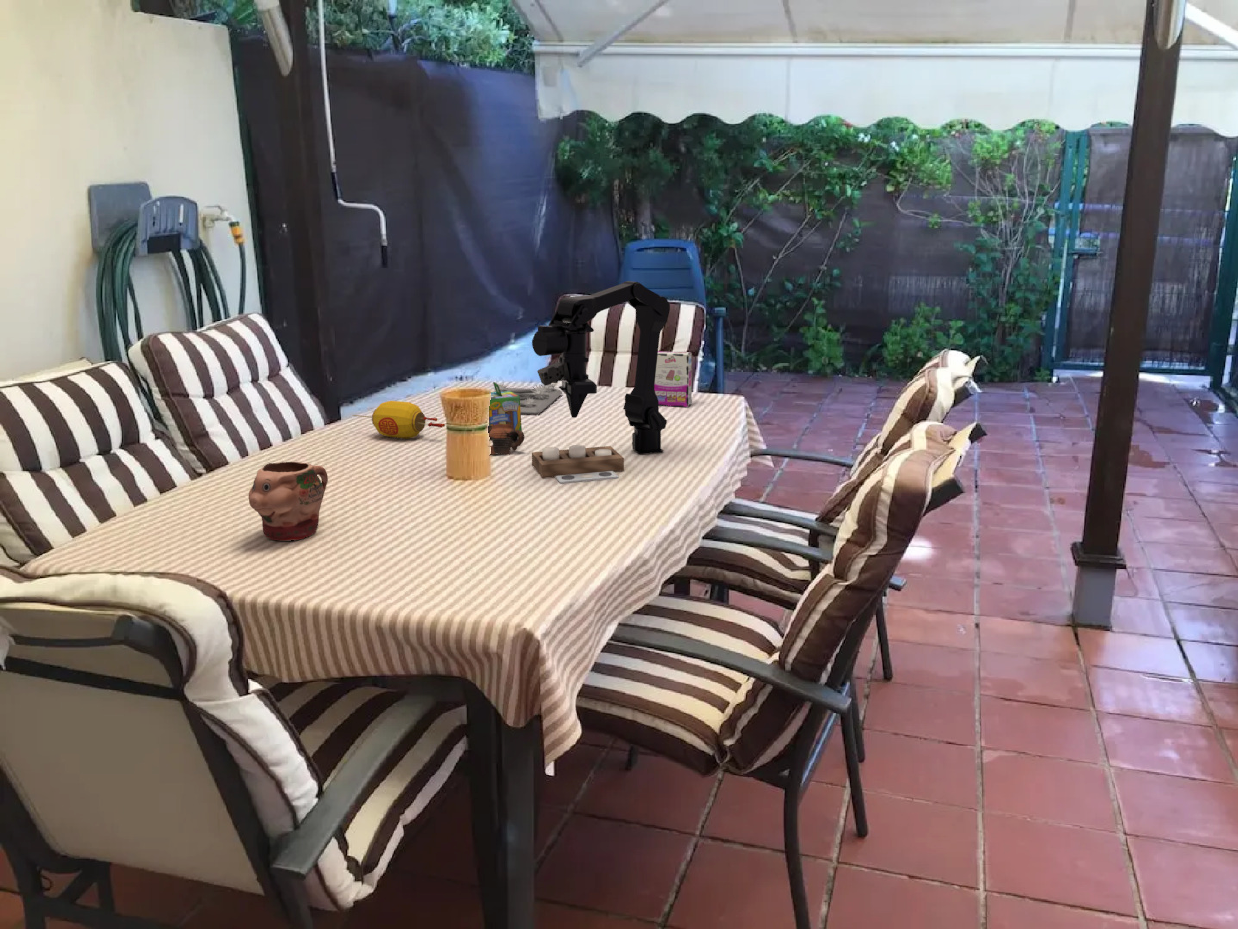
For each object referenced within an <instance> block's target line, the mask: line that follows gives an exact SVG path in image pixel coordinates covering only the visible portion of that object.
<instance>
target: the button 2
mask: <svg viewBox="0 0 1238 929" xmlns="http://www.w3.org/2000/svg"><path fill="white" fill-rule="evenodd" d="M607 455H611V450H608V449H599V450H596V451H595V456H607Z"/></svg>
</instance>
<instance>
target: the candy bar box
mask: <svg viewBox="0 0 1238 929" xmlns="http://www.w3.org/2000/svg"><path fill="white" fill-rule="evenodd" d="M692 357H693V356H692V351H691V352H690V351H689V352H686V351H685V352H684V351H661V350H658V356H657V365H656V375H655V384H654V391H655V393H656V396H657V398H658V401H659V407H673V408H675V407H676V408H688V407H690V406H691V405H692V402H693V401H692V398H693V397H692V392H693V391H692V388H693V387H692V386H693V385H692V382H693V381H692V375H693V374H692V370H693V368H692V364H693V363H692Z"/></svg>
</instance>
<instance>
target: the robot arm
mask: <svg viewBox="0 0 1238 929" xmlns="http://www.w3.org/2000/svg"><path fill="white" fill-rule="evenodd" d="M626 302H627V303H628V305H630V306H631V307H632V308H633V309H634V310H635V319H636V320H635V321H636V323H637V325H638V328H639V340H638V341H639V342H638V350H637V358H636V369H635V370H636V371H635V379H634V387H633V388H632V390H631V391H630V393H625V395H624V404H623V405H624V406H623V408H622V409H623V410H624V416H625V417H626V418H627V420H628V423H629V426H630V427H633V432H632V433H631V434H632V435H631V442H632V443H631V444H632V450H633V451H634V452H636V453H637V454H638V455H645V454H647V455H648V454H658V453H659V454H660V453H664V450H663V449H662V431H663V430H665V429H666V426H667V424H668V423H667V422H668V420H667V419H666V418H665V417H664V416H663V415H662V414H661V412H660V411H659V410H660V409H659V407H660V406H659V401H658V398H657V396H656V393H655V391H654V384H655V375H656V365H657V356H658V351H659V346H660V337H661V336H660V335H661V332H662V330H663V329H664V328H665V326H666V324H667V323H668V319H669V316H670V315H669V314H670V309H671V303H670V302H669V301H668V299H667V298H666V297H665V296H661V295H660V294H658V293H656V292H654V291H653V290H650V289H649V288H647V287H645V285H643V284H642V283H640V282H638V281H631V280H626V281H624V282H622V283H620V284H618V285H615V286H612V287H609V288H607V289H603V290H600V291H597V292H595V293H592V294H590V295H578V296H577V295H575V296H568V297H563V298H562V299H560V301H559V304H558V306H557V309H556V311H555V312H554V314H553V316H552V317H551V320H550V321H549V323H548V325H538V326H537V331H536V332H535V333H534V334H533V337H532V339H531V344H532V345H531V346H532V349H533V351H534V353H535V354H536V355H537V356H538V357H542V356H553V355H559V357H558V361H557V362H555V363H552V364H549V365H546V366H545V367H541V368H540V369H538V370H537V373H538V376H539V380H540V382H541V384H542V385H543V386H544V385H549V384H552V383H553V384H558V382H561V386H558V388H559V390H560V391H561V392H562V393H564V394H565V396H566V400H567V405H568V409H569V412H570V416H571V418H573V419H575V418H577V417H578V415H579V413H580V410H581V408H582V407H583V404H584V402H585V400H586V398H587V396H588V395H591V394H592V395H595V394H597V393H598V385H597V384H596V383H595V381H593V380H591V379H590V378H589V374H587V363H588V362H589V356H587V333H593V332H594V331H595V329H594V328H593V327H592V326H590V324H589V323H588V322H590V321H591V320H593V319H594V318H595V317H596V316H597V314H598V313H600V312H602V311H604V310H608V309H610V308H613V307H616V306H619V305H622V304H624V303H626Z"/></svg>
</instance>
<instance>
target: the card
mask: <svg viewBox="0 0 1238 929" xmlns="http://www.w3.org/2000/svg"><path fill="white" fill-rule="evenodd" d="M554 478H555V479H556V480H557V482H558V483H559V484H568V483H570V482H571V483H579V482H580V483H581V481H582V482H589V481H592V482H593V481H600V480H602V481H604V480H611V479H613V480H615V479H619V475H618V474H617V473H616V472H613V471H606V472H595V473H583V474H572V475H561V476H555V477H554Z"/></svg>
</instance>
